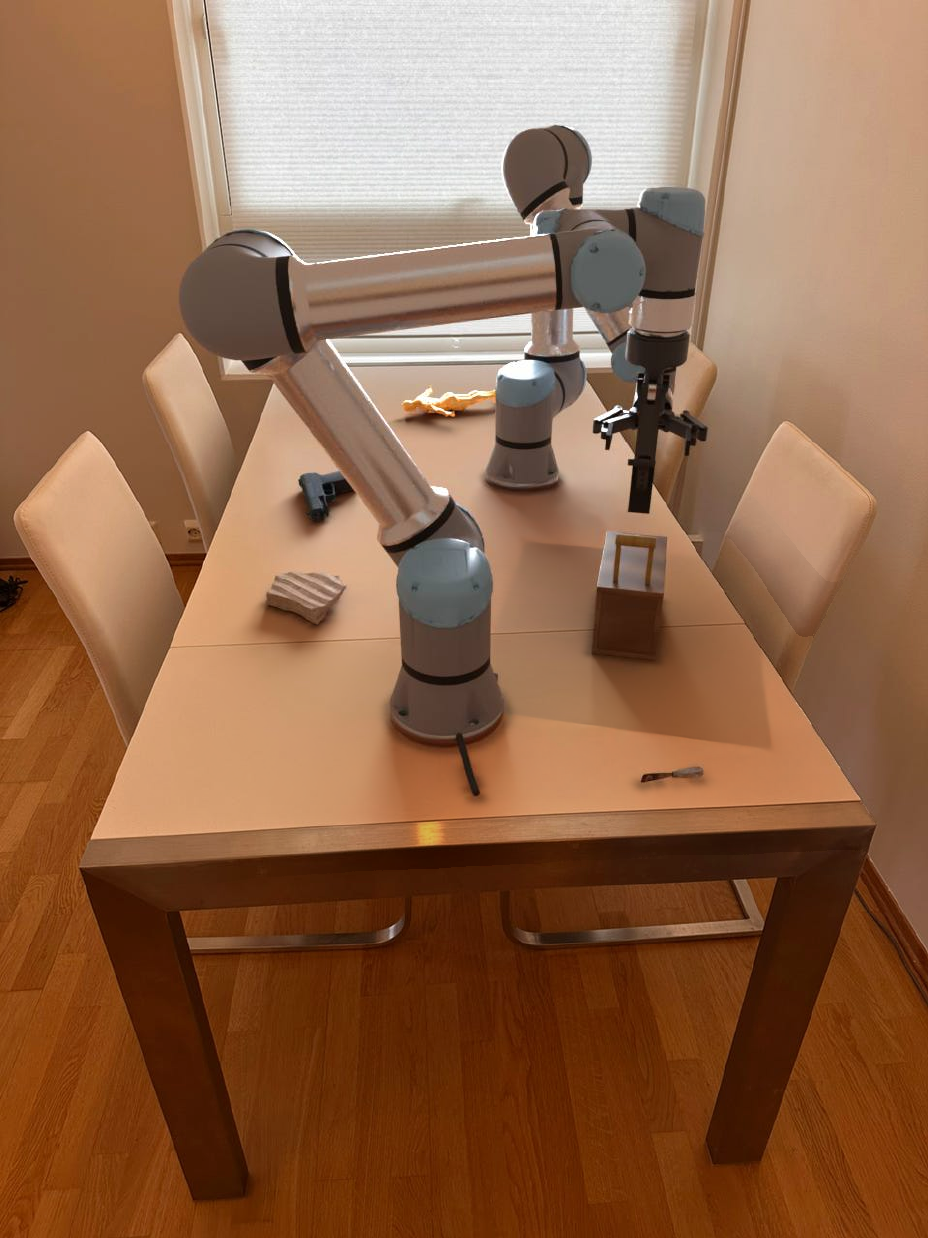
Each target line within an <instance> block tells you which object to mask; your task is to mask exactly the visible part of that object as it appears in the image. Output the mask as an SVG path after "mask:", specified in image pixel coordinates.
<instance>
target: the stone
mask: <svg viewBox="0 0 928 1238" xmlns="http://www.w3.org/2000/svg"><path fill="white" fill-rule="evenodd" d="M346 589H347V585H346V583H345V582H343V580H341V579H340V575H332V574H329V573H326V572H320V571H318V572H315V571H314V572H308V573H306V572H300V571H289V572H287V573H281V572H279V573H277V574H275V576H274V579H273V581H272V584H271V587H270V590H268V591H267V592H266V594H265V597H266V600H265V604H266V605H267V606H268V605H269V606H271V607H275V608H278V609H281V610H282V611H289V612H292V613H296V614H297V615H299V616H301V617H302V618H304V619H305V620H307V621H309V622H311V623H312V624H315V625H319V624H320V622H321V621H323V620H324V619H325V618H326V615H327V612H328V611H329V609H330V607H332V606H333V605H334V603H335V602H336V601H338V600H339V599H340V598H341V596H342V595H343V593H344V591H345V590H346Z"/></svg>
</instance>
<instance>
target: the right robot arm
mask: <svg viewBox="0 0 928 1238" xmlns="http://www.w3.org/2000/svg"><path fill="white" fill-rule="evenodd" d="M592 164H593V156H592V151H591V147H590V144H589V143H588V140H587V139H586V138H585V137H584V136H583V134H582V133H581V132H580V131H579V130H578V129H575V128H573V127H571V126H568V125H559V124H554V125H547V126H541V127H532V128H528V129H524V130H522V131H521V132H519V133H517V134H516V135H515V136H514V137H512V138H511V140H510V141H509V142H508V144H507V146H506V148H505V149H504V151H503V155H502V158H501V177H502V181H503V185H504V187H505V191H506V192H507V195H508V197H509V198H510V201H511V202H512V204H513V206H514V208H515V209H516V211H517V213H518V214H519V216H520V218H521V219H522V222H524V224H525V225H530V236H532V233H533V224H534V220H535V217H536V216H537V214H538V213H539V212H541V211H547V210H561V209H562V208H567V209H580V208H581V207H582V206H583V205H584V185H585V183H586V181H587V180H588V177H589V176H590V174H591V170H592ZM584 309H585V311H586V313H587V315H588V317H589V318H590V320H591V321H592V323H593V325H594V326H595V328H596V330H597V331H598V333H599V335H600V336H601V338H602V339H603V340H604V343H605V344H606V345H607V347H608V349H609V351H610V353H611V357H610V367H611V371H612V373H613V375H614V376H615V377H616V378H618V379H619V380H620V381H622V382H625V383H630V384H632V383H636V385H635V389H636V388H637V379H638V373H645V368H644V367H642V366H636V365H633V364H631V363H629V362H628V361H627V359H626V357H625V354H626V343H627V332H628V331H629V330H630V329H631V328H632V327H631V326H630V325H629V314H630V310H631V308H628V307H626V308H624V309H622V310H620V311H618V312H614V313H608V314H603V313H598V312H594V311H591V310H588V309H586V308H584ZM530 317H531V321H530V323H531V325H530V326H531V327H530V328H531V329H530V331H531V339H530V341H529V342H528V343H527V344H526V345H525V347H524V349H523V353H524V355H523V358H524V359H523V360H518V361H517V362H515V361H513V362H510V363H507V364H506V365H504V366H503V367H502V368H500V369H499V370H498V372H497V375H496V380H495V387H494V390H495V395H496V403H495V411H494V413H495V414H494V415H495V422H494V423H495V425H494V426H495V428H494V429H495V430H494V432H495V434H494V445H493V448H492V451H491V453H490V457H489V459H488V462H487V465H486V469H485V479H486V481H487V483H489V484H490V485H492V486H493V487H494V488H497V489H500V490H503V491H507V492H515V493H532V492H533V493H534V492H540V491H543V490H547V489H549V488H551V487H553V486H556V484H557V483H558V481H559V472H560V471H559V466H558V463H557V459H556V456H555V453H554V449H553V445H552V437H553V436H552V435H553V418H554V417H556V416H558V414H560V413H561V412H562V411H564V410H565V409H568V408H569V407H571V406H573V404H574V403H575V402H576V401H577V400H578V399H579V398H580V396H581V395H582V394H583V392H584V391H585V388H586V384H587V377H588V376H587V375H588V374H587V373H588V372H587V367H586V365H585V363H584V361H583V360H582V359H581V357H580V356H581V352H580V351H581V346H580V345H579V344H578V343H577V342H576V341H575V340H574V308H572V309H562V310H553V311H545V312H537V313H530ZM664 374H670V379H669V380H670V381H669V390H668V394H667V396H666V399H665V408H664V413H663V415H661V416H660V417H664V425H659V431H662V432H664V433H672V434H674V435H675V436H678V437H680V438H682V439H684V454H683V455H684V456H685V457H689V456H690V450H691V446H692V447H696V446H697V442H698V441H699V442H702V443H703V442H706V441H707V439H708V438H707V437H708V430H709V427H708V425H706V424H705V423H703V422H702V421H700V420H698V419H697V418H696V417H694V416H693V415H692V414H691V413H690V411H689V410H688V409H687V410H686V409H685V410H682V412H680V413H679V414H677V413H676V414H675V411H673V406H674V394H675V388H676V387H675V386H676V376H677V367H675V368H671V367H670V368H666V369H664ZM637 397H638V394H637V392H636V391H635V393H634V397H633V401H632V402H633V403H632V407H631V408H630V409H629V410H624V408H623V407H622V406H621V405H615V406H614V408H613V409H612V410H609V411H607V412H606V413H604V414H602V415H600V416H598V417H595V418H593V423H592V434H594V435H599V434H600V439H601V440H603V441H605V447H604V451H610V449H611V444H612V441H613V435H614V434H617V433H620V432H624V431H627V430H631V431H635V430H638V421H639V414H637V412H636V405H637Z"/></svg>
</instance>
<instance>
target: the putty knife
mask: <svg viewBox="0 0 928 1238" xmlns="http://www.w3.org/2000/svg"><path fill="white" fill-rule="evenodd" d="M704 772H705V771H704V768H702V767H701V766H697V765H695V766H688V767H683V768H679V769H675V770H673V771H671V772H653V773H652V772H651V773H650V772H649V773H644V774H642V776H641V779H640V783H642V784H645V783H648V782H653V781H659V780H665V779H668V778H673V779H674V778H675V779H693V778H694V779H695V778H700V777H702V776H703V775H704Z"/></svg>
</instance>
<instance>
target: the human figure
mask: <svg viewBox="0 0 928 1238" xmlns="http://www.w3.org/2000/svg"><path fill="white" fill-rule="evenodd" d="M424 391H425V392H423V393H422V394H420V395H418V396H416V398H415V399H414V400H404V401H403V402H402V411H404V412H405V413H410V414H412V413H414V412H417V408H418V409H420V410H421V411H423V412H424V413H427V414H439V415H443V416H444V417H449V416H450V417H451V418H452V417H453V418H454V417H455V416H456V414H455V411H462V410H464V409H467V408H469V407H471V406H473V405H476V404H478V403H481V402H484V401H488V400H493V402H494V403H495V404H496V395H495V389H493V390H491V391H478V390H473V391H470V392H469V393H468V394H460V393H457V394H455V393H453V392H446V393H444V394H443V395H442V396H441V397H440V398H434V397H429V396H430V395H432V394H433V392H434V391H433V389H432V385H429V387H428V389H424ZM450 410H452V411H450Z"/></svg>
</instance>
